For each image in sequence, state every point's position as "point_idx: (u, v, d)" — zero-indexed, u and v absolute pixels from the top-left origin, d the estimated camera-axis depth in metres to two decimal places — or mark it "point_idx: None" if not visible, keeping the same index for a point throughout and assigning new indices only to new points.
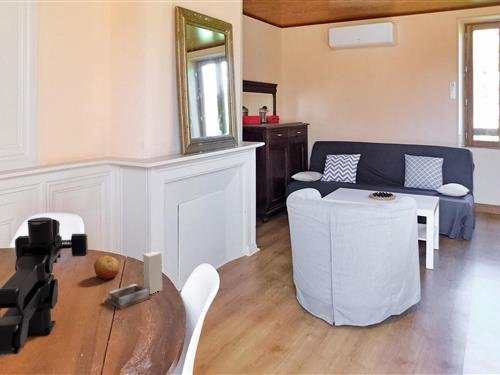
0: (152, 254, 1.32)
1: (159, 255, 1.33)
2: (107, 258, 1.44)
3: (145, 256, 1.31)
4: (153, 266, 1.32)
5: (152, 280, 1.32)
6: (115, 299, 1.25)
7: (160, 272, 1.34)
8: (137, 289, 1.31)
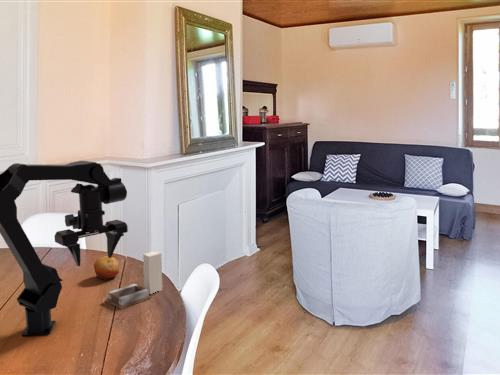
0: (152, 254, 1.32)
1: (159, 255, 1.33)
2: (107, 258, 1.44)
3: (145, 256, 1.31)
4: (153, 266, 1.32)
5: (152, 280, 1.32)
6: (115, 299, 1.25)
7: (160, 272, 1.34)
8: (137, 289, 1.31)
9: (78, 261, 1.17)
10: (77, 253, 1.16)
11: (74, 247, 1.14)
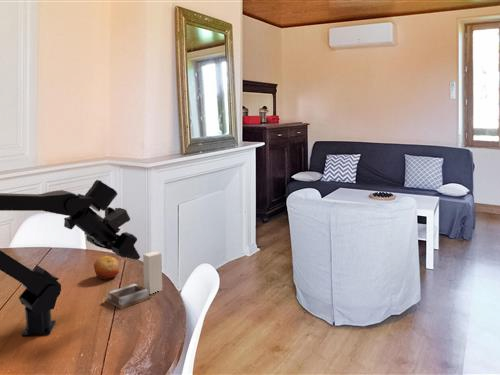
0: (152, 254, 1.32)
1: (159, 255, 1.33)
2: (107, 258, 1.44)
3: (145, 256, 1.31)
4: (153, 266, 1.32)
5: (152, 280, 1.32)
6: (115, 299, 1.25)
7: (160, 272, 1.34)
8: (137, 289, 1.31)
9: None
10: (105, 248, 1.27)
11: None
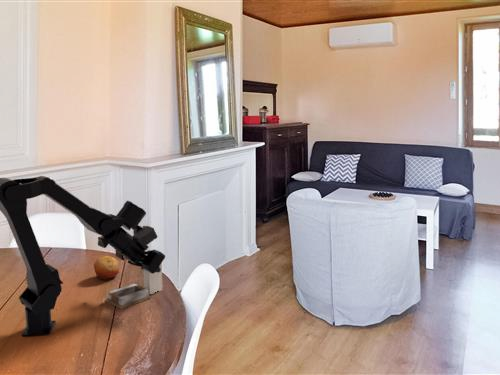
0: None
1: None
2: (107, 258, 1.44)
3: None
4: None
5: (152, 280, 1.32)
6: (115, 299, 1.25)
7: (160, 272, 1.34)
8: (137, 289, 1.31)
9: None
10: (139, 266, 1.33)
11: None
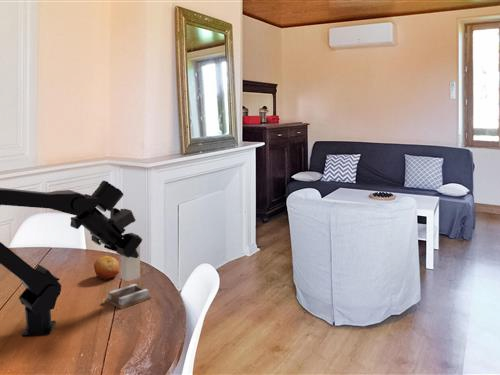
0: None
1: None
2: (107, 258, 1.44)
3: None
4: None
5: (129, 266, 1.26)
6: (115, 299, 1.25)
7: (138, 258, 1.27)
8: (137, 289, 1.31)
9: None
10: None
11: (107, 248, 1.25)
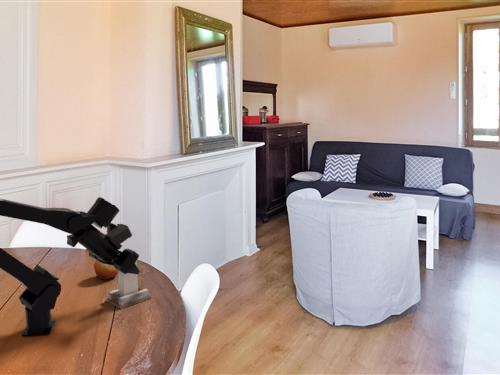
0: None
1: None
2: None
3: None
4: None
5: (127, 286, 1.26)
6: (115, 299, 1.25)
7: (136, 277, 1.28)
8: None
9: None
10: (109, 264, 1.28)
11: None
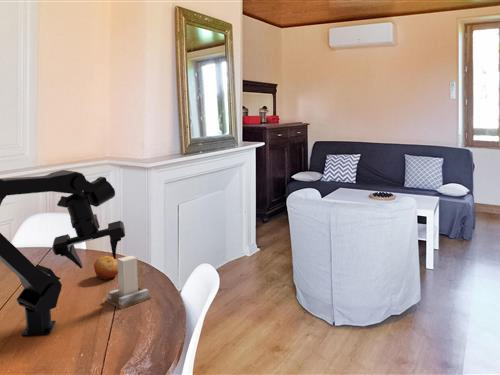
0: (127, 259, 1.26)
1: (134, 260, 1.27)
2: (107, 258, 1.44)
3: (119, 261, 1.25)
4: (128, 271, 1.26)
5: (127, 286, 1.26)
6: (115, 299, 1.25)
7: (136, 277, 1.28)
8: None
9: (78, 265, 1.21)
10: (72, 259, 1.19)
11: (66, 255, 1.17)
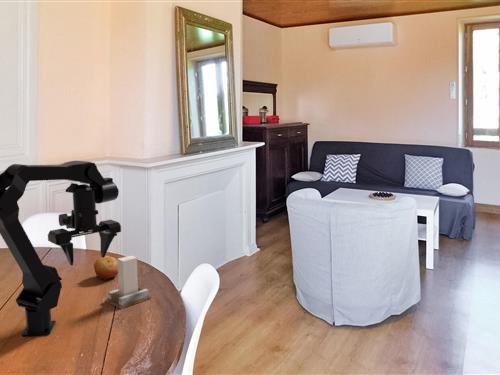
0: (127, 259, 1.26)
1: (134, 260, 1.27)
2: (107, 258, 1.44)
3: (119, 261, 1.25)
4: (128, 271, 1.26)
5: (127, 286, 1.26)
6: (115, 299, 1.25)
7: (136, 277, 1.28)
8: None
9: (71, 260, 1.18)
10: (70, 252, 1.16)
11: (67, 246, 1.15)
